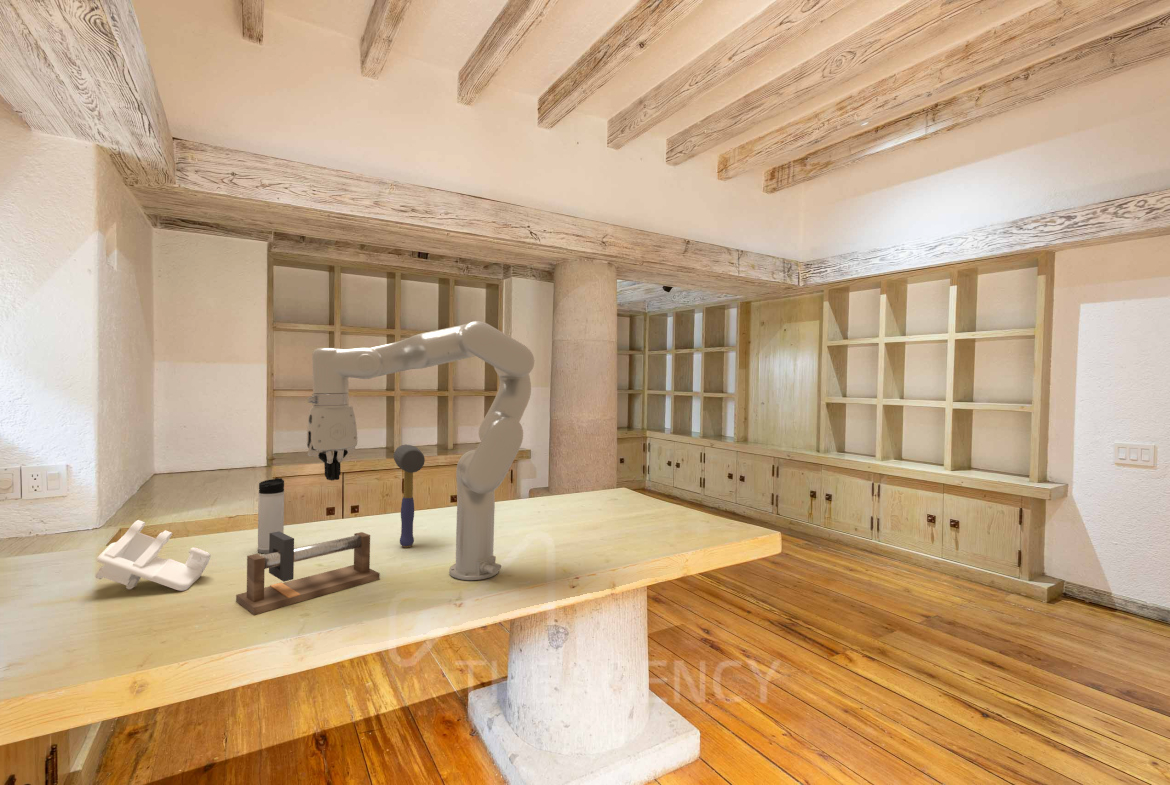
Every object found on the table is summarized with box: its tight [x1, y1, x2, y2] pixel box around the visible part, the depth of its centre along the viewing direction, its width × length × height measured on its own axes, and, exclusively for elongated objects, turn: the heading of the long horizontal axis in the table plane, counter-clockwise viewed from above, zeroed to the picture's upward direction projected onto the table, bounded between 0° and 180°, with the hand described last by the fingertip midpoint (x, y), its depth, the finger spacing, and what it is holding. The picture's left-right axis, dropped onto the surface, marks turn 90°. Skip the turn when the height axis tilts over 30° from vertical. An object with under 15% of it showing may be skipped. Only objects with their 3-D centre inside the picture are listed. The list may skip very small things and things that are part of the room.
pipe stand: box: [235, 531, 381, 616], centre depth 125 cm, size 28×10×11 cm, turn 141°
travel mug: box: [257, 477, 285, 555], centre depth 152 cm, size 6×7×20 cm
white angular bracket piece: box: [94, 519, 211, 592], centre depth 124 cm, size 20×11×13 cm, turn 108°
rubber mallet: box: [393, 444, 426, 548], centre depth 159 cm, size 12×8×30 cm, turn 29°
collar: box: [268, 531, 295, 583], centre depth 120 cm, size 2×8×9 cm, turn 51°
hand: (332, 479), depth 126 cm, fingers closed
